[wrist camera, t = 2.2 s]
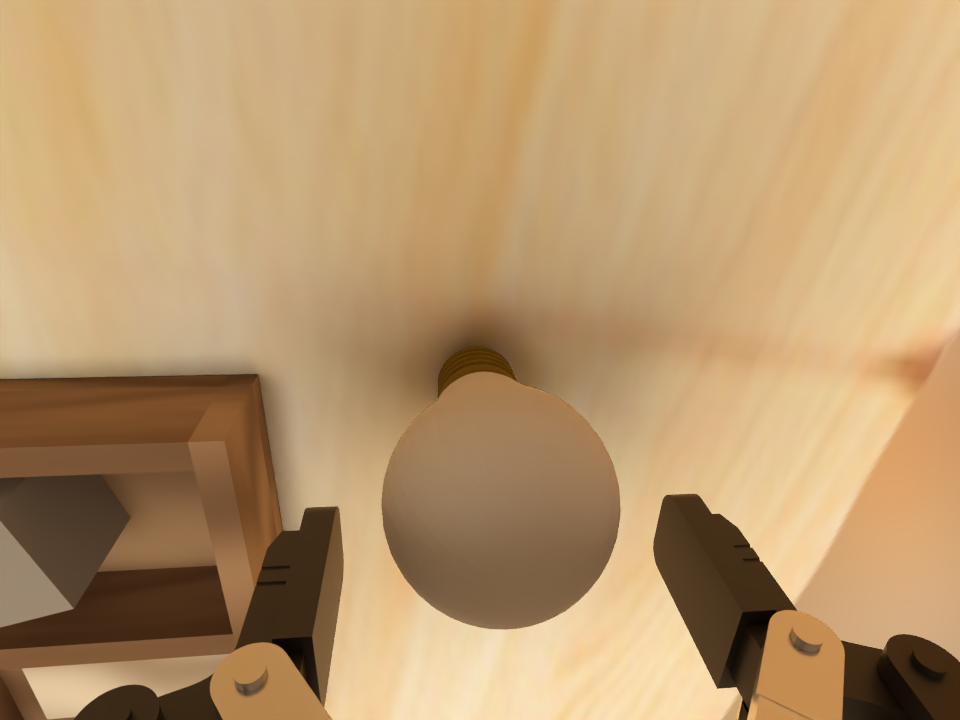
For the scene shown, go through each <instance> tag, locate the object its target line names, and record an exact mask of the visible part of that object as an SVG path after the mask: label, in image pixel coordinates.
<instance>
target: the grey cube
mask: <svg viewBox="0 0 960 720" xmlns="http://www.w3.org/2000/svg"><path fill="white" fill-rule="evenodd" d="M130 518H131V517H130V516H129V514H128V513H127V512H126V510H125V509H124V507H123V506H122V504H121V503H120V501H119V500H118V499H117V497H116V496H115V494H114V493H113V491H112V490H111V488H110V487H109V486H108V484H107V483H106V481H105V480H104V478H103V477H102V475H101V474H93V475H66V476H39V477H12V478H0V627H4V626H8V625H12V624H16V623H20V622H24V621H28V620H32V619H36V618H40V617H44V616H48V615H52V614H56V613H60V612H63V611H67V610H71V609H74V608H75V606H76V605H77V603H78V602H79V600H80V598H81V597H82V595H83V594H84V592H85V590H86V589H87V587H88V586H89V584H90V582H91V581H92V579H93V578H94V576H95V574H96V573H97V571H98V570H99V568H100V566H101V565H102V563H103V562H104V560H105V558H106V557H107V555H108V554H109V552H110V550H111V549H112V547H113V546H114V544H115V542H116V541H117V539H118V538H119V536H120V534H121V533H122V531H123V530H124V528H125V526H126V525H127V523H128V522H129V520H130Z"/></svg>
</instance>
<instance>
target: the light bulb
mask: <svg viewBox="0 0 960 720" xmlns="http://www.w3.org/2000/svg"><path fill="white" fill-rule="evenodd" d="M382 516H383V526H384V531H385V535H386V539H387V542H388V545H389V548H390V551H391V554H392V556H393V558H394V560H395V562H396V564H397V566H398V568H399V569H400V571H401V573H402V575H403V576H404V578H405V579H406V580H407V581H408V583H409V584H410V585H411V586H412V587H413V589H414V590H415V591H416V592H417V593H418V594H419V595H420V596H421V597H422V598H423V599H424V600H425V601H427V602H428V603H429V604H430V605H431V606H433V607H434V608H436V609H437V610H439V611H440V612H442V613H444V614H445V615H447V616H449V617H451V618H453V619H456V620H458V621H460V622H463V623H466V624H469V625H473V626H477V627H481V628H488V629H517V628H523V627H528V626H532V625H535V624H539V623H542V622H544V621H546V620H549V619H551V618H553V617H555V616H557V615H559V614H560V613H562V612H564V611H566V610H567V609H568V608H570V607H571V606H572V605H574V604H575V603H576V602H578V601H579V600H580V599H581V598H582V597H583V596H584V595H585V594H586V593H587V592H588V591H589V590H590V588H591V587H592V586H593V585H594V583H595V582H596V581H597V580H598V578H599V577H600V575H601V573H602V572H603V570H604V568H605V566H606V565H607V563H608V561H609V558H610V556H611V553H612V551H613V548H614V545H615V542H616V538H617V533H618V527H619V520H620V494H619V486H618V481H617V477H616V474H615V470H614V466H613V463H612V461H611V458H610V456H609V454H608V452H607V450H606V448H605V446H604V444H603V442H602V440H601V439H600V437H599V436H598V435H597V433H596V432H595V431H594V430H593V428H592V427H591V426H590V424H589V423H588V422H587V421H586V420H585V419H584V418H583V417H582V416H581V415H580V414H579V413H578V412H577V411H575V410H574V409H573V408H572V407H571V406H569V405H568V404H566V403H565V402H563V401H562V400H560V399H558V398H557V397H555V396H553V395H551V394H549V393H547V392H544V391H542V390H539V389H537V388H534V387H529V386H525V385H521V384H520V383H518V382H517V380H516V378H515V376H514V374H513V371H512V369H511V367H510V365H509V363H508V362H507V360H506V359H505V358H504V357H503V356H502V355H500V354H499V353H497V352H495V351H493V350H491V349H487V348H481V347H475V348H468V349H465V350H462V351H459V352H457V353H456V354H454V355H453V356H451V357H450V358H449V359H448V360H447V361H446V363H445V364H444V365H443V367H442V369H441V371H440V374H439V379H438V400H437V401H436V402H435V403H434V404H432V405H431V406H429V407H428V408H427V409H426V410H424V411H423V412H422V413H421V414H420V415H419V416H418V417H417V418H416V419H415V420H414V421H413V422H412V423H411V425H410V426H409V427H408V429H407V430H406V431H405V432H404V434H403V435H402V437H401V438H400V440H399V442H398V444H397V446H396V448H395V449H394V451H393V453H392V456H391V458H390V461H389V464H388V467H387V471H386V474H385V478H384V484H383V493H382Z"/></svg>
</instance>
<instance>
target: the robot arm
mask: <svg viewBox="0 0 960 720" xmlns="http://www.w3.org/2000/svg"><path fill="white" fill-rule="evenodd" d="M653 549H654V557H655V562H656V565H657V567H658V569H659V572H660V574H661V576H662V578H663V580H664V582H665V584H666V586H667V588H668V590H669V592H670V594H671V596H672V598H673V600H674V602H675V604H676V606H677V608H678V610H679V612H680V614H681V616H682V618H683V620H684V622H685V624H686V626H687V628H688V630H689V632H690V634H691V636H692V638H693V640H694V642H695V644H696V646H697V648H698V650H699V652H700V654H701V656H702V658H703V660H704V663H705V665H706V667H707V669H708V671H709V673H710V675H711V677H712V679H713V681H714V683H715V685H716V687H717V689H718V688H731V687H737V689H738V691H739V693H740V694H741V696H742V699H741V701H740V704H739V707H738V712H737V717H736V720H960V662H959V661H958V660H957V659H956V658H955V657H954V656H952V655H951V654H950V653H949V652H947V651H946V650H945V649H943V648H941V647H940V646H938V645H936V644H935V643H932V642H931V641H928V640H925V639H924V638H920V637H917V636H913V635H905V634H902V635H896V636H893V637H891V638H890V639H889V641H888V642H887V644H886V646H885V648H884V650H881V649H877V648H872V647H867V646H862V645H858V644H854V643H849V642H845V641H841V640H840V639H839V638H838V636H837V635H836V634H835V633H834V631H833V630H832V629H831V628H829V627H828V626H827V625H826V624H825V623H823V622H822V621H820V620H819V619H817V618H815V617H813V616H811V615H809V614H806V613H803V612H799V611H797V610H796V608H795V607H794V605H793V604H792V603H791V601H790V600H789V598H788V597H787V596H786V594H785V593H784V591H783V590H782V589H781V587H780V586H779V584H778V583H777V582H776V580H775V579H774V578H773V576H772V575H771V573H770V572H769V571H768V569H767V568H766V566H765V565H764V564H763V562H760V560H759V557H758V555H757V554H756V552H755V551H754V550H753V548H750V544H749V543H748V541H747V540H746V538H745V537H744V536H743V534H742V533H741V532H740V530H739V529H738V528H737V527H736V526H735V525H733V524H732V523H731V522H730V521H728V520H727V519H726V518H724V517H723V516H722V515H721V514H711V512H710V511H709V509H708V508H707V506H706V505H705V503H704V502H703V500H702V499H701V498H700V496H698V495H697V494H679V495H666V496H665V497H664V499H663V502H662V506H661V510H660V515H659V519H658V524H657V529H656V533H655V538H654V545H653ZM343 563H344V562H343V546H342V535H341V524H340V514H339V508H338V507H312V508H306V509H305V512H304V515H303V519H302V523H301V527H300V531H282V532H281V533H280V534H279V535H278V536H277V537H276V539H275V540H274V541H273V542H272V543H271V544H270V546H269V547H268V548H267V551H266V554H265V557H264V560H263V563H262V567H261V571H260V573H259V576H258V579H257V585H256V586H255V589H254V592H253V595H252V598H251V601H250V605H249V608H248V611H247V614H246V617H245V620H244V623H243V627H242V630H241V633H240V636H239V639H238V642H237V645H236V648H235V650H234V652H232V653H231V654H229V655H228V656H227V657H226V658H225V659H224V660H223V661H222V662H221V663H220V664H219V665H218V667H217V668H216V670H215V672H214V673H213V674H212V675H210V676H209V677H208V678H206V679H204V680H202V681H200V682H198V683H196V684H193V685H191V686H188V687H185V688H182V689H179V690H176V691H174V692H171V693H168V694H165V695H162V696H159V697H157V695H156V693H155V692H154V691H153V690H152V689H150V688H148V687H146V686H143V685H136V684H135V685H125V686H120V687H117V688H114V689H112V690H109V691H107V692H105V693H103V694H102V695H100V696H98V697H97V698H95V699H94V700H93V701H91V702H90V703H89V704H88V705H86V706H85V707H84V708H83V709H82V710H81V711H80V712H79V713H78V715H77V716H76V717H75V719H74V720H332V719H331V717H330V716H329V714H328V713H327V711H326V710H325V708H324V705H325V698H326V692H327V685H328V678H329V671H330V664H331V657H332V650H333V644H334V637H335V630H336V623H337V616H338V609H339V602H340V596H341V589H342V582H343Z"/></svg>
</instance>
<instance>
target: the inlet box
mask: <svg viewBox="0 0 960 720" xmlns="http://www.w3.org/2000/svg"><path fill="white" fill-rule="evenodd" d="M93 474H101V475H102V477H103V478H104V480H105V481H106V483H107V484H108V486H109V487H110V488H111V490H112V491H113V493H114V494H115V496H116V497H117V499H118V500H119V501H120V503H121V504H122V506H123V507H124V509H125V510H126V512H127V513H128V514H129V516H130V517H131V518H130V520H129V522H128V523H127V525H126V526H125V528H124V530H123V531H122V533H121V534H120V536H119V538H118V539H117V541H116V542H115V544H114V546H113V547H112V549H111V550H110V552H109V554H108V555H107V557H106V558H105V560H104V562H103V563H102V565H101V566H100V568H99V570H98V571H97V573H96V574H95V576H94V578H93V579H92V581H91V582H90V584H89V586H88V587H87V589H86V590H85V592H84V594H83V595H82V597H81V598H80V600H79V602H78V603H77V605H76V606H75V608H74V609H71V610H67V611H63V612H60V613H56V614H52V615H48V616H44V617H40V618H36V619H32V620H28V621H24V622H20V623H16V624H12V625H8V626H4V627H0V720H74V719H75V717H76V716H77V715H78V713H79V712H80V711H81V710H82V709H83V708H84V707H85V706H86V705H88V704H89V703H90V702H91V701H93V700H94V699H95V698H97V697H98V696H100V695H102V694H103V693H105V692H107V691H109V690H112V689H114V688H117V687H120V686H125V685H135V684H136V685H143V686H146V687H148V688H150V689H152V690H153V691H154V692H155V693H156V695H157V697H159V696H162V695H165V694H168V693H171V692H174V691H176V690H179V689H182V688H185V687H188V686H191V685H193V684H196V683H198V682H200V681H202V680H204V679H206V678H208V677H209V676H210V675H212V674H213V673H214V672H215V670H216V668H217V667H218V665H219V664H220V663H221V662H222V661H223V660H224V659H225V658H226V657H227V656H228V655H229V654H231V653H232V652H234V650H235V648H236V645H237V642H238V639H239V636H240V633H241V630H242V627H243V623H244V620H245V617H246V614H247V611H248V608H249V605H250V601H251V598H252V595H253V592H254V589H255V586H256V585H257V579H258V576H259V573H260V571H261V567H262V563H263V560H264V557H265V554H266V551H267V548H268V547H269V546H270V544H271V543H272V542H273V541H274V540H275V539H276V537H277V536H278V535H279V534H280V533H281V532H282V531H283V528H282V522H281V516H280V510H279V503H278V497H277V491H276V484H275V478H274V472H273V466H272V459H271V453H270V447H269V441H268V434H267V428H266V422H265V415H264V409H263V403H262V397H261V390H260V384H259V378H258V375H209V376H159V377H108V378H58V379H8V380H0V478H12V477H39V476H66V475H93Z"/></svg>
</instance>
